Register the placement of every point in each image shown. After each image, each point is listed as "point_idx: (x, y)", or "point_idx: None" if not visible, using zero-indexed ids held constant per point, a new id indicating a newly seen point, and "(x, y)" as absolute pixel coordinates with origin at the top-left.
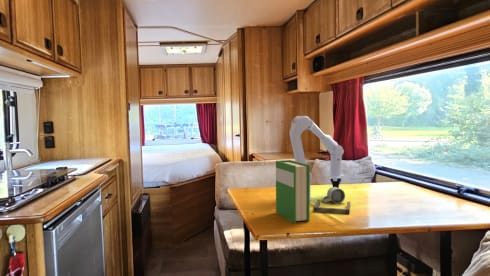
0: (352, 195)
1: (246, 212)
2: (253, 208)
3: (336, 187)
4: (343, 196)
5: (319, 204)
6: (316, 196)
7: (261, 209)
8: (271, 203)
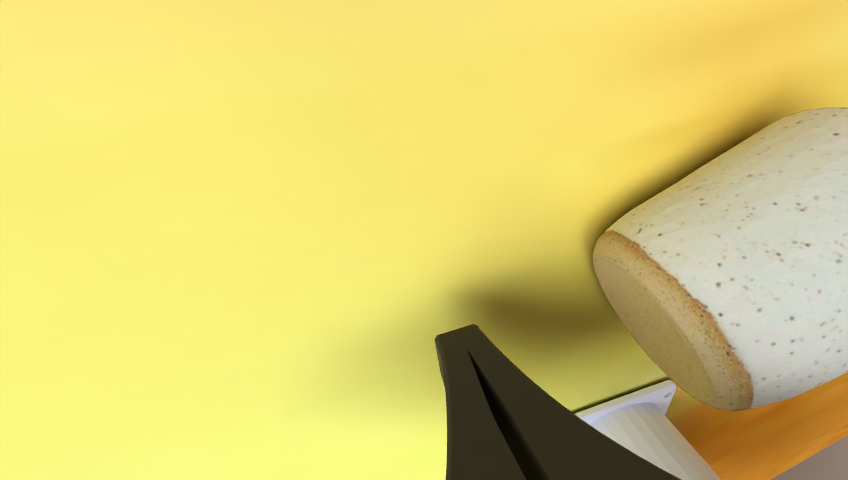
0: (102, 107)
1: (835, 439)
2: (782, 457)
3: (825, 352)
4: (811, 143)
5: None
6: None
7: (804, 434)
8: None
